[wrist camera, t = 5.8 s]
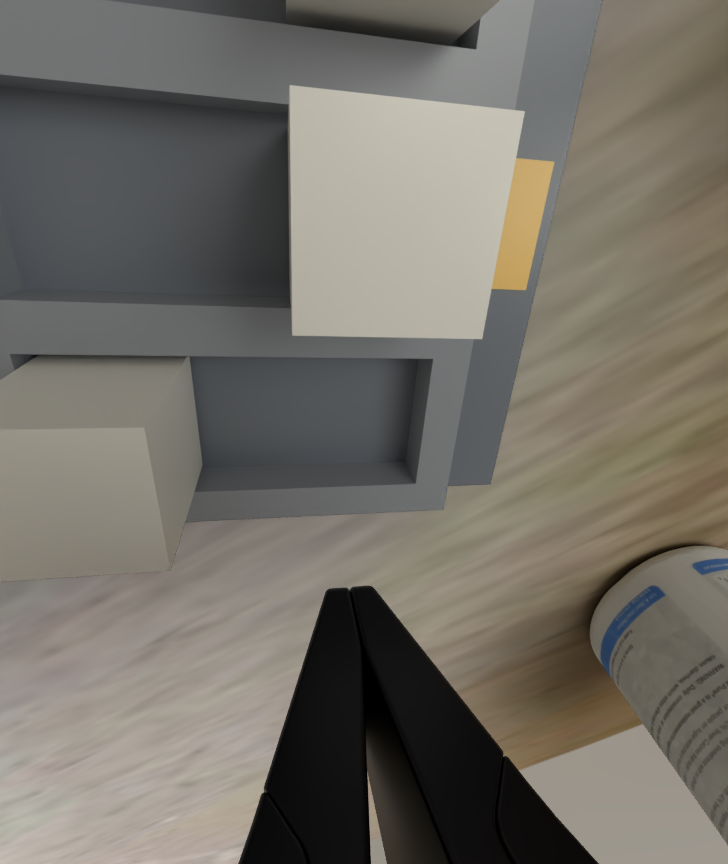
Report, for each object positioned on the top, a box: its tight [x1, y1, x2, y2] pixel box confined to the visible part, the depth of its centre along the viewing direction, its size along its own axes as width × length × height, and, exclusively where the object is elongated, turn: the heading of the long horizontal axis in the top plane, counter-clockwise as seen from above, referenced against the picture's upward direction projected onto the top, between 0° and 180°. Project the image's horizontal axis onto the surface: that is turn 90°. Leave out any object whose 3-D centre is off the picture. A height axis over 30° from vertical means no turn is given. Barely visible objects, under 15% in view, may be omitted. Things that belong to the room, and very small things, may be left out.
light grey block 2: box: [288, 85, 525, 339], centre depth 10 cm, size 4×4×5 cm
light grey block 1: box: [0, 354, 203, 582], centre depth 12 cm, size 4×4×5 cm
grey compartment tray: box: [0, 0, 603, 522], centre depth 12 cm, size 19×19×3 cm
